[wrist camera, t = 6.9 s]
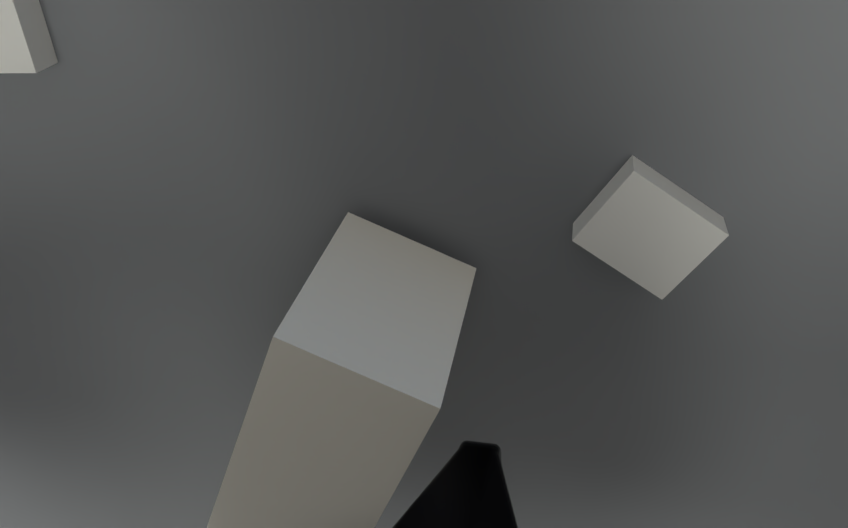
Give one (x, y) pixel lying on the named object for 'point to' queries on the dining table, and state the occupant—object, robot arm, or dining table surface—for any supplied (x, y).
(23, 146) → the dial board
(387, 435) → the beige wooden bar
